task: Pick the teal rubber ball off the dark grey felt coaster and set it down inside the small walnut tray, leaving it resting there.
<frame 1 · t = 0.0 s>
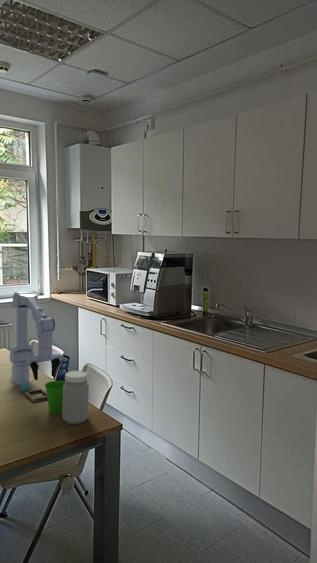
hand: (44, 377, 173), 10 cm above the table, fingers open, 7 cm apart
ball: (24, 391, 183), resting on coaster
coaster: (24, 392, 183), on the table
cup: (55, 411, 165), on the table
jar: (75, 420, 158), on the table
tray: (37, 397, 178), on the table
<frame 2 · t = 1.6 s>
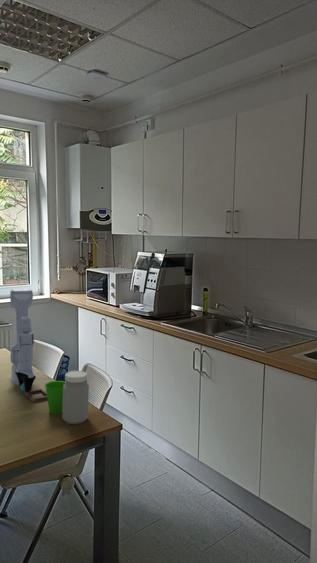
hand: (25, 389, 182), 2 cm above the table, fingers open, 6 cm apart
nothing on the table moved.
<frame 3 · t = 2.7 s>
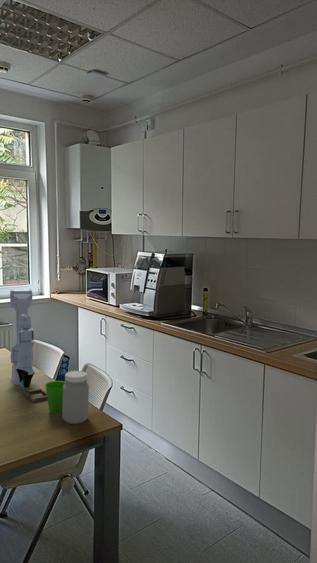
hand: (24, 385, 183), 3 cm above the table, fingers closed on ball, 4 cm apart
ball: (24, 388, 183), point 2 cm above the table, touching gripper
everything else where it was.
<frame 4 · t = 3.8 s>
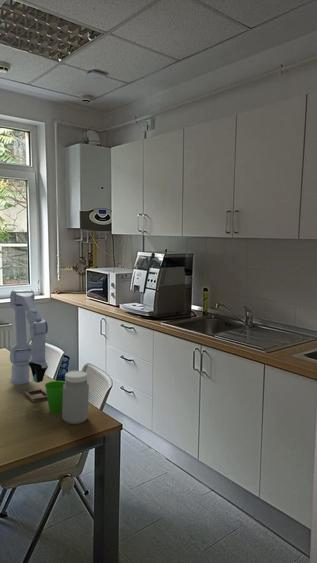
hand: (37, 380, 177), 8 cm above the table, fingers closed on ball, 4 cm apart
ball: (37, 382, 177), point 7 cm above the table, touching gripper
everything else where it was.
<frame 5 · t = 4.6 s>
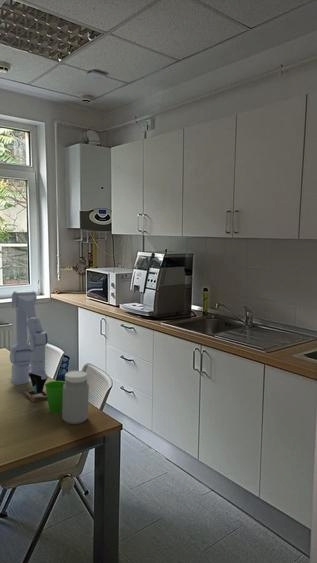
hand: (37, 390, 177), 3 cm above the table, fingers closed on ball, 4 cm apart
ball: (37, 393, 177), point 2 cm above the table, touching gripper
everything else where it was.
when the fingers open (3 cm above the table, at t = 5.0 s): ball drops 1 cm, resting on tray.
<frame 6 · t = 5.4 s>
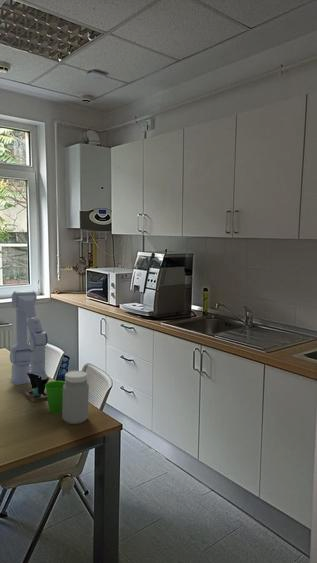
hand: (37, 391, 177), 3 cm above the table, fingers open, 7 cm apart
ball: (37, 396, 178), point 1 cm above the table, touching tray
everything else where it was.
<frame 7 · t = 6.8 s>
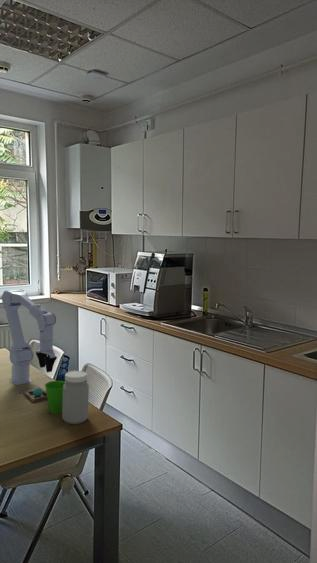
hand: (45, 369, 185), 10 cm above the table, fingers open, 7 cm apart
nothing on the table moved.
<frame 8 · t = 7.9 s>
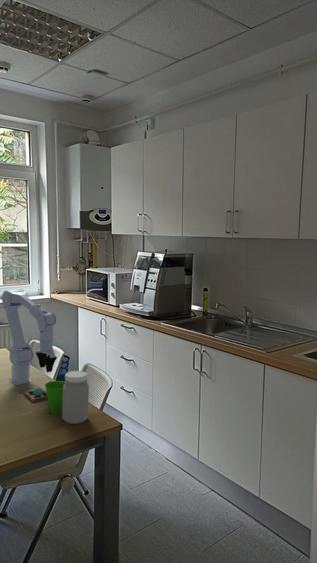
hand: (45, 369, 185), 10 cm above the table, fingers open, 7 cm apart
nothing on the table moved.
at the end: ball inside the target area on the tray (0.1 cm from its centre), point 0.5 cm above the tray's base; the gripper is holding nothing; ball moved 8.7 cm from its start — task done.
